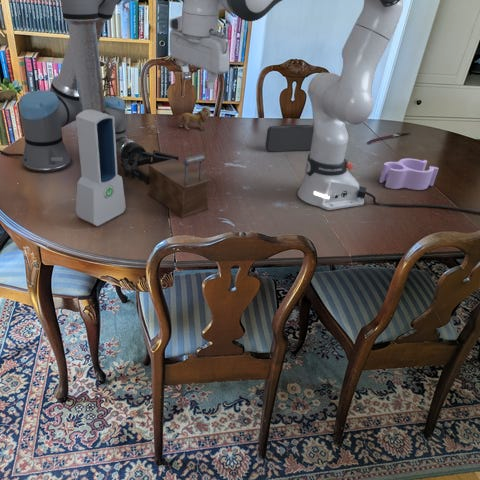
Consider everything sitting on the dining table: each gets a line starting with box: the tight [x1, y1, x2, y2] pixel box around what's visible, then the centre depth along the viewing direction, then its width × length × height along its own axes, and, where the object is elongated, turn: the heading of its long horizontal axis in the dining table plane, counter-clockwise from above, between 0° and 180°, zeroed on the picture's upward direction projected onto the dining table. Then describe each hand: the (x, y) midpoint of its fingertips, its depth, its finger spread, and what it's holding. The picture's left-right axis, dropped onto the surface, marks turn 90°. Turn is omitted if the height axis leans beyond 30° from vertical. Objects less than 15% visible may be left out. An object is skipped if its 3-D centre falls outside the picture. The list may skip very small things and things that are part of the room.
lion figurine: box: [176, 106, 211, 131], centre depth 199 cm, size 15×5×9 cm, turn 110°
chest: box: [148, 167, 210, 218], centre depth 143 cm, size 18×10×9 cm, turn 43°
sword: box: [367, 132, 410, 144], centre depth 214 cm, size 31×3×1 cm, turn 126°
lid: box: [148, 153, 211, 190], centre depth 138 cm, size 18×10×9 cm, turn 43°
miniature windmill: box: [100, 52, 117, 98], centre depth 184 cm, size 9×8×30 cm
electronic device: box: [75, 110, 127, 227], centre depth 126 cm, size 12×8×30 cm, turn 148°
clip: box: [378, 157, 439, 191], centre depth 172 cm, size 20×12×7 cm, turn 109°
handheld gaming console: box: [264, 124, 313, 152], centre depth 189 cm, size 23×3×10 cm, turn 108°
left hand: (166, 175), depth 146 cm, fingers open, 13 cm apart
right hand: (197, 83), depth 121 cm, fingers open, 8 cm apart
